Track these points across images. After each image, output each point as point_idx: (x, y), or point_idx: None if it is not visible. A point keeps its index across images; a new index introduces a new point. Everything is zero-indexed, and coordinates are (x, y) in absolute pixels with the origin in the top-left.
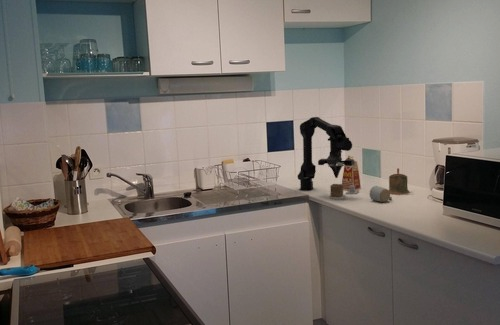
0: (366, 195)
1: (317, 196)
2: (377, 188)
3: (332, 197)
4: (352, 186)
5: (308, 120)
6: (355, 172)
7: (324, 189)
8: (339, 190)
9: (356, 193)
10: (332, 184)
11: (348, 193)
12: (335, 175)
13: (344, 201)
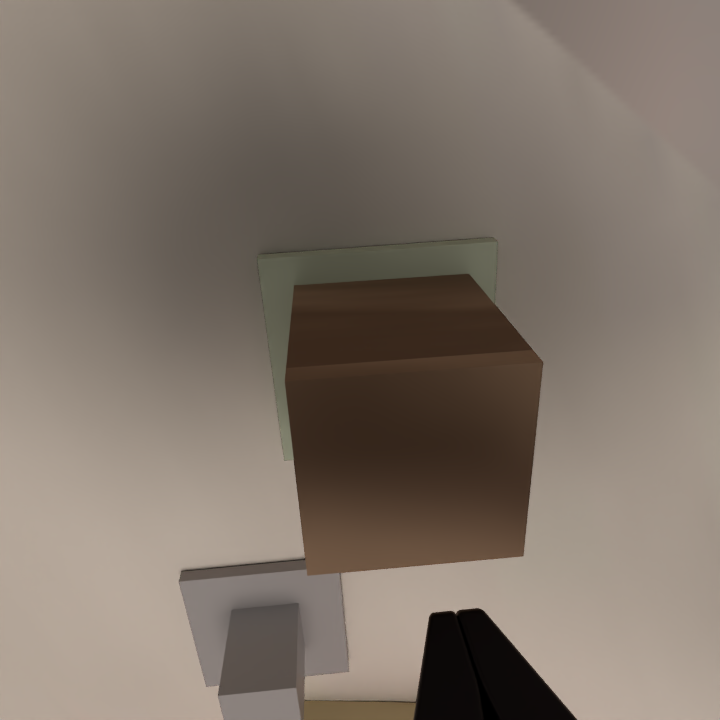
0: (7, 564)
1: (711, 275)
2: None
3: (424, 246)
4: (240, 693)
5: None
6: None
7: (686, 663)
8: (296, 334)
9: (184, 595)
10: (529, 489)
11: (293, 565)
12: (498, 679)
13: (71, 25)
